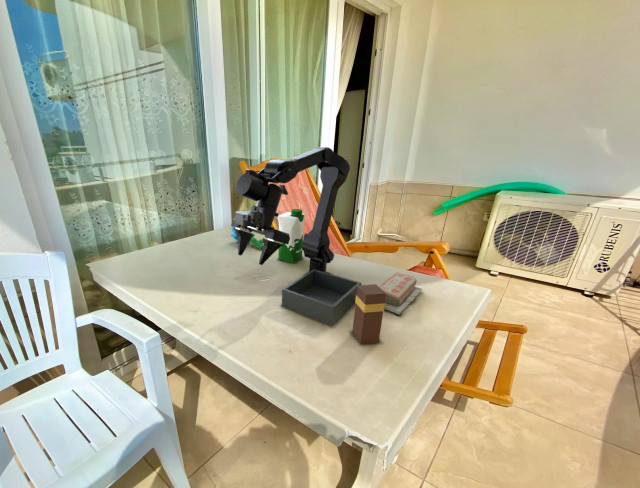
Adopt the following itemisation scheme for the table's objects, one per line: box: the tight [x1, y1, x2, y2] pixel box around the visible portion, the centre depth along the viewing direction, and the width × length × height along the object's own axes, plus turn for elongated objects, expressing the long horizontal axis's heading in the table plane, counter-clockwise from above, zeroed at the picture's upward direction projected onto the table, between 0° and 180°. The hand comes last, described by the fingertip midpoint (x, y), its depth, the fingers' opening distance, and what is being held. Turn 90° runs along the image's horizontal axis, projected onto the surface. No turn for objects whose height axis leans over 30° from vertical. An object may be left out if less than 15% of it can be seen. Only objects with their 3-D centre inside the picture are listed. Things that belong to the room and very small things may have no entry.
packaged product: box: [378, 272, 423, 316], centre depth 89 cm, size 18×5×10 cm
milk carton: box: [277, 208, 306, 264], centre depth 118 cm, size 9×9×20 cm
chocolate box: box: [351, 284, 386, 345], centre depth 71 cm, size 5×5×13 cm
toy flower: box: [230, 226, 264, 251], centre depth 137 cm, size 9×9×18 cm
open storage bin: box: [281, 269, 362, 327], centre depth 88 cm, size 18×16×6 cm
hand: (249, 259), depth 84 cm, fingers open, 9 cm apart
